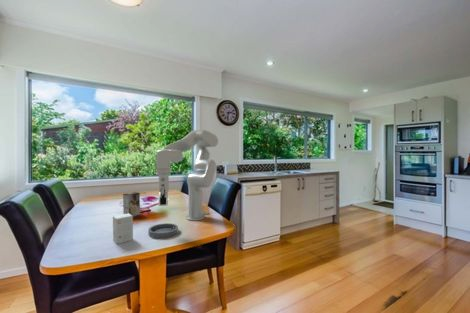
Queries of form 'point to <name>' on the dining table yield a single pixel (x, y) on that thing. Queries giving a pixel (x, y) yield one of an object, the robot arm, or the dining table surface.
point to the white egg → (166, 199)
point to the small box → (122, 228)
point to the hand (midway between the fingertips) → (163, 203)
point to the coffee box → (131, 203)
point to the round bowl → (163, 230)
